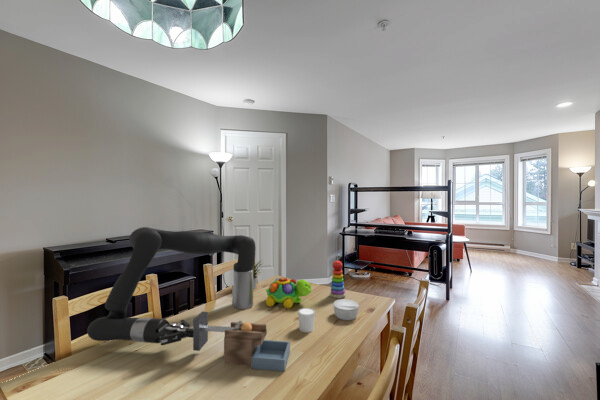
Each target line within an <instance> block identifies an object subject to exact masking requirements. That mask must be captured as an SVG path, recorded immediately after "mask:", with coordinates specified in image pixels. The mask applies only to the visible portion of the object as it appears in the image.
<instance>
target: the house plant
mask: <svg viewBox="0 0 600 400" xmlns="http://www.w3.org/2000/svg"><path fill="white" fill-rule="evenodd" d="M263 261H264V260H260V261H258V262H255V263H254V266H253V290H255V289H256V288H257V284H258V277H259V275H260V274H261V271H260V270H261V269H262V267H261V268H260V266H261V265H262V263H261V262H263ZM257 275H258V276H257Z"/></svg>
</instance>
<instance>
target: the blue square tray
mask: <svg viewBox="0 0 600 400" xmlns="http://www.w3.org/2000/svg"><path fill="white" fill-rule="evenodd" d="M290 353H291V341H286V340H271V339H270V340H268V339H264V341H263V343H262V345H258V346H257V348H256V350H255V352H254V354H253V356H252V365H251V369H252V370H260V371H263V370H264V371H277V372H286V367H287V365H288V361H289V356H290Z"/></svg>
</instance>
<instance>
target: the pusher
mask: <svg viewBox="0 0 600 400" xmlns="http://www.w3.org/2000/svg"><path fill="white" fill-rule="evenodd" d="M208 315H209V313H208V311H201V312H200V313H199V314H198V315H197V316H195V317H194V318H193V320H192V329H193V338H192V344H193V347H192V350H193V351H196V352H200V350H201V349H202V348H203V347H204V346H205V345H206V344H207V342H208V341H209V336H208V335H209V333H208V332H219V333H225V330H240V331H241V326H242V323H243V320H242V321H241V320H239V321H238V323H237V324H236V326H235V327H231V326H219V325H218V326H217V325H209V318H208V317H209V316H208Z"/></svg>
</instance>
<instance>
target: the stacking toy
mask: <svg viewBox="0 0 600 400" xmlns="http://www.w3.org/2000/svg"><path fill="white" fill-rule="evenodd" d="M332 267H333V270H332V278H331V285H330V292H329V296H330V297H331V298H334V299H344V298H345V296H346V289H345V282H344V274H343V270H342V269H343V263H342V261H340V260H335V261H334V262H332Z"/></svg>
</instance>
